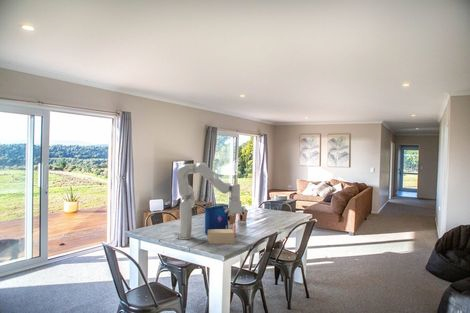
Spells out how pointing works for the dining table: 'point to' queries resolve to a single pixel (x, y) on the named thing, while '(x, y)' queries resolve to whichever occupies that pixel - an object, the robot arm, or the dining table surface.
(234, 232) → the grey stepped block
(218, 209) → the book
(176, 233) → the robot arm
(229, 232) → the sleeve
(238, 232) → the dining table surface
